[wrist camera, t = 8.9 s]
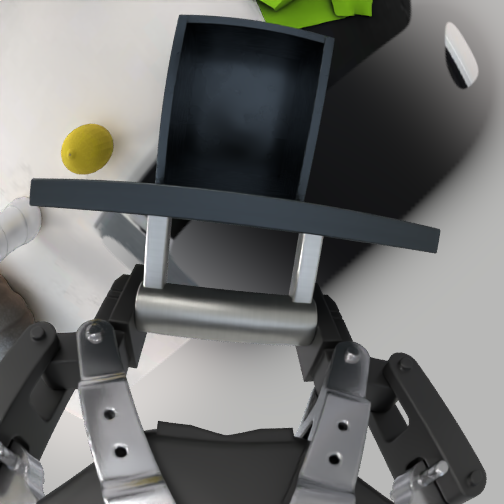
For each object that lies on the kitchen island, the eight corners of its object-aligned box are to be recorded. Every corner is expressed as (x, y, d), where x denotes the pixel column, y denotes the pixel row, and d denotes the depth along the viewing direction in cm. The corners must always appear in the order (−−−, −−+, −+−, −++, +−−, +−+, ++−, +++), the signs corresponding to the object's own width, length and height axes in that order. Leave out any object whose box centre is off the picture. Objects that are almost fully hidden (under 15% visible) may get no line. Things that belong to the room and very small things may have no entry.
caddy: (194, 41, 24) (179, 14, 16) (306, 58, 26) (335, 38, 17) (176, 170, 31) (154, 193, 23) (283, 183, 33) (301, 211, 24)
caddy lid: (30, 178, 6) (36, 337, 7) (440, 229, 8) (403, 368, 8) (153, 190, 22) (148, 249, 23) (303, 208, 24) (295, 265, 24)
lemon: (131, 145, 29) (103, 156, 22) (100, 174, 30) (69, 193, 23) (106, 112, 27) (72, 115, 20) (76, 143, 28) (40, 154, 21)
